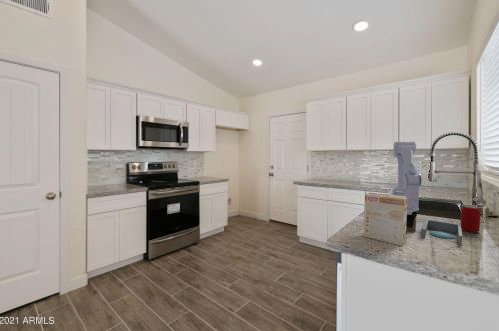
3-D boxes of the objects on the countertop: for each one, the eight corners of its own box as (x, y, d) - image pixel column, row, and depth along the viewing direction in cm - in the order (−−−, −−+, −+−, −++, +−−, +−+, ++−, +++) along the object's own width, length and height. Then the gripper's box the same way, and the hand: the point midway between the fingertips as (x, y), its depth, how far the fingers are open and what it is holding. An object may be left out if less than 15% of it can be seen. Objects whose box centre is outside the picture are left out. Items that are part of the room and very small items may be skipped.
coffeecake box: (406, 241, 99) (407, 196, 97) (402, 246, 94) (404, 198, 92) (368, 232, 109) (369, 192, 108) (363, 236, 104) (364, 194, 103)
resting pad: (430, 230, 112) (430, 230, 112) (454, 235, 107) (454, 234, 107) (428, 235, 106) (428, 234, 106) (455, 240, 100) (455, 239, 100)
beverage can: (479, 230, 113) (480, 206, 112) (479, 234, 108) (481, 208, 107) (460, 227, 117) (461, 204, 116) (460, 230, 112) (461, 206, 112)
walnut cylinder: (405, 227, 116) (405, 214, 116) (416, 229, 114) (416, 215, 113) (403, 230, 113) (404, 216, 113) (415, 232, 110) (415, 217, 110)
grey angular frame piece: (425, 227, 118) (426, 219, 118) (460, 232, 109) (460, 224, 109) (422, 237, 103) (422, 229, 103) (461, 245, 94) (462, 236, 94)
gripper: (403, 195, 120) (402, 221, 121) (399, 199, 110) (398, 228, 110) (420, 197, 116) (419, 224, 117) (417, 202, 105) (416, 231, 106)
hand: (410, 226), depth 113 cm, fingers closed on walnut cylinder, 4 cm apart
